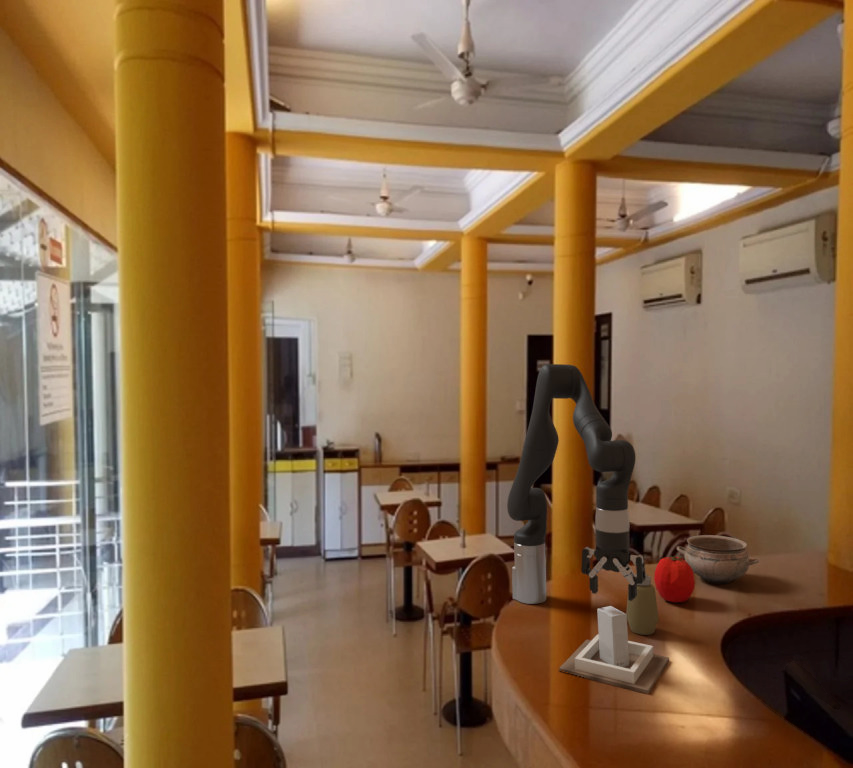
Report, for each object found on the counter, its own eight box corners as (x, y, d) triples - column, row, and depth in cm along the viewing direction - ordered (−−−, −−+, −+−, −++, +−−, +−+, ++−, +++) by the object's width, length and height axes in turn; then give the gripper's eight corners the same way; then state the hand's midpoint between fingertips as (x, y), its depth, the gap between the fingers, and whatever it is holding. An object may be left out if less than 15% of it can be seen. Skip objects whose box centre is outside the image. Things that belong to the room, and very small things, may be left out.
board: (559, 671, 149) (559, 668, 149) (586, 642, 164) (586, 639, 164) (648, 694, 137) (648, 690, 137) (669, 660, 152) (668, 657, 152)
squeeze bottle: (658, 626, 172) (657, 559, 172) (659, 639, 164) (657, 568, 164) (626, 623, 175) (625, 557, 174) (625, 635, 167) (624, 566, 167)
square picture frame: (574, 669, 148) (574, 658, 148) (597, 644, 161) (597, 634, 161) (634, 683, 140) (633, 672, 140) (653, 656, 153) (652, 645, 153)
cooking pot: (666, 580, 208) (665, 542, 208) (687, 565, 222) (687, 530, 222) (750, 597, 191) (749, 556, 191) (767, 580, 205) (767, 542, 205)
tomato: (672, 591, 198) (671, 548, 198) (705, 604, 187) (704, 558, 187) (643, 598, 193) (643, 554, 193) (676, 611, 182) (675, 565, 182)
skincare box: (630, 666, 149) (629, 613, 148) (613, 669, 147) (612, 617, 147) (613, 655, 154) (612, 604, 154) (597, 658, 153) (596, 607, 152)
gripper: (576, 526, 150) (577, 595, 151) (638, 534, 142) (639, 607, 143) (588, 519, 157) (588, 585, 157) (648, 527, 149) (648, 596, 149)
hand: (613, 596), depth 150 cm, fingers open, 8 cm apart
